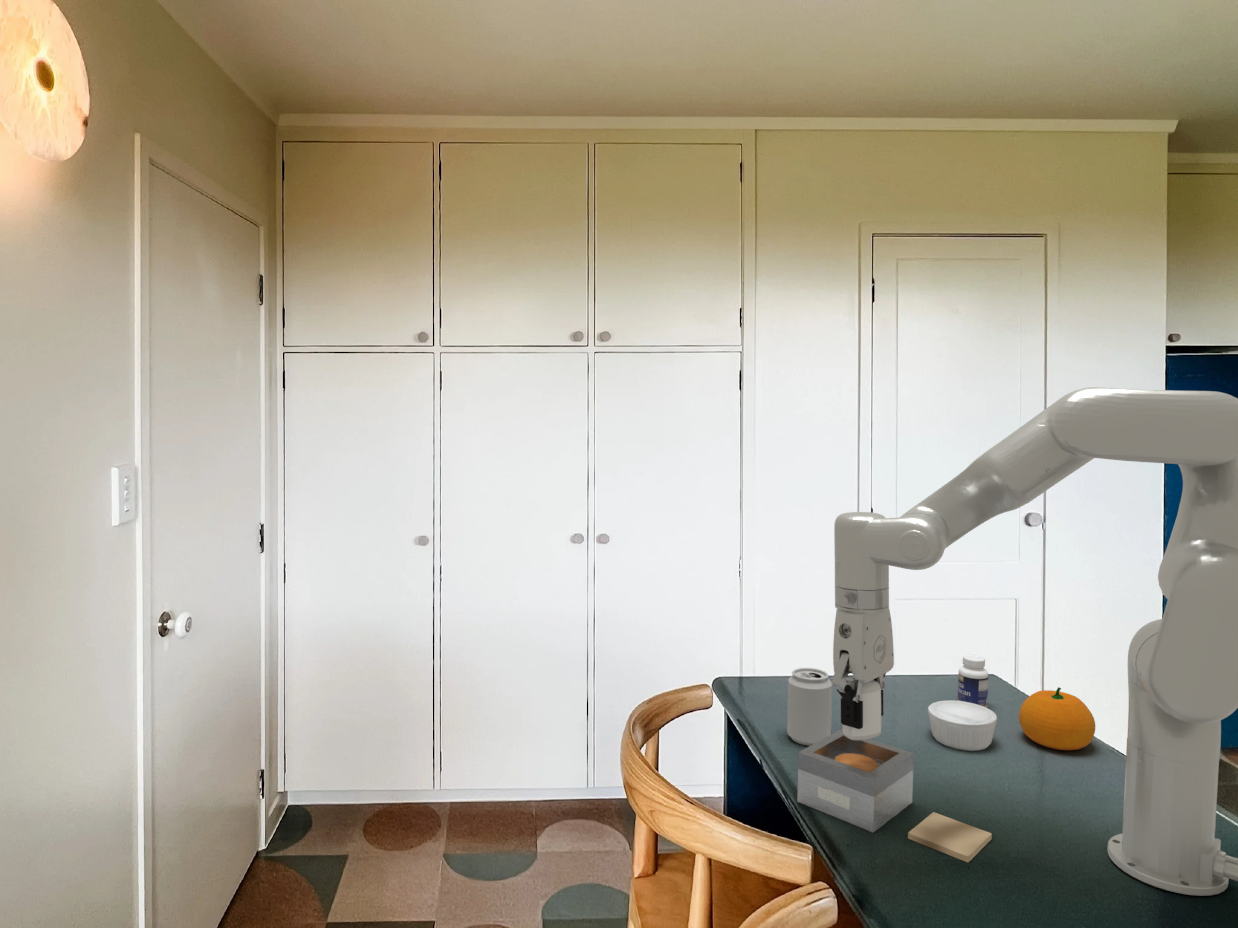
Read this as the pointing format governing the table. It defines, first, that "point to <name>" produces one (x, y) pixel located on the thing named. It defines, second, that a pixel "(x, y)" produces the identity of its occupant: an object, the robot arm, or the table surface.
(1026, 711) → the fruit
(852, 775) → the grey box
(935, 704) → the ramekin
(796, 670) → the can
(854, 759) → the button
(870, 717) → the eye dropper bottle
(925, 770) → the table surface
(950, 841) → the coaster
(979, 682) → the pill bottle
